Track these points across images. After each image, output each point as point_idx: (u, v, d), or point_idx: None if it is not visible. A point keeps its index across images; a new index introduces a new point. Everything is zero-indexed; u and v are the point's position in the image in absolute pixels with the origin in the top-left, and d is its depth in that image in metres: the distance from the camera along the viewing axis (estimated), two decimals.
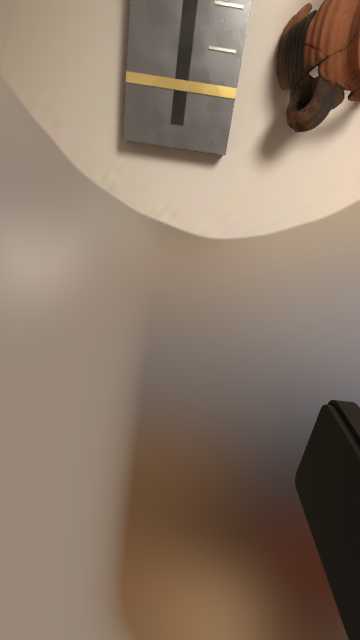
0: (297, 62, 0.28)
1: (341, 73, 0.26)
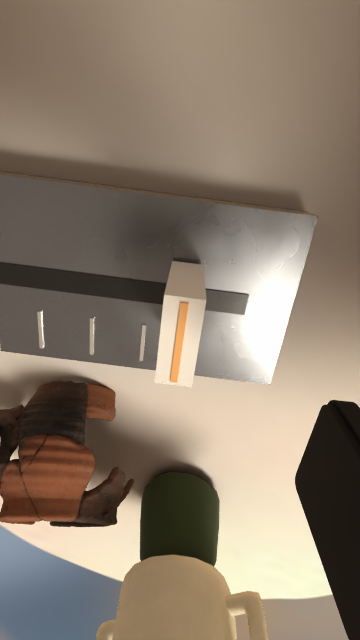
0: (36, 423, 0.20)
1: (8, 490, 0.20)
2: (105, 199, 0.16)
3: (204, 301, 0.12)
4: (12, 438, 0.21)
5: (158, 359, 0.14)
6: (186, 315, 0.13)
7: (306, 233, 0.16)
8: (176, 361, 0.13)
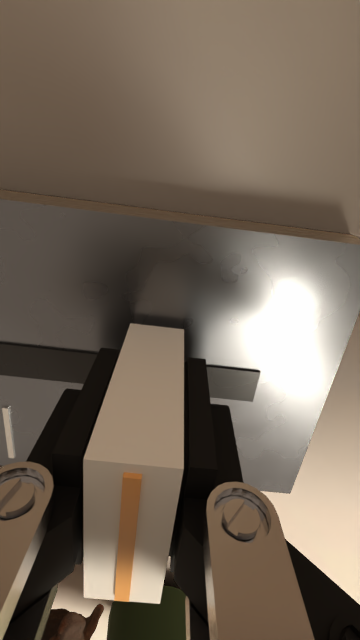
0: None
1: None
2: (4, 218, 0.09)
3: (179, 470, 0.05)
4: None
5: (86, 565, 0.06)
6: (138, 495, 0.06)
7: None
8: (123, 571, 0.06)
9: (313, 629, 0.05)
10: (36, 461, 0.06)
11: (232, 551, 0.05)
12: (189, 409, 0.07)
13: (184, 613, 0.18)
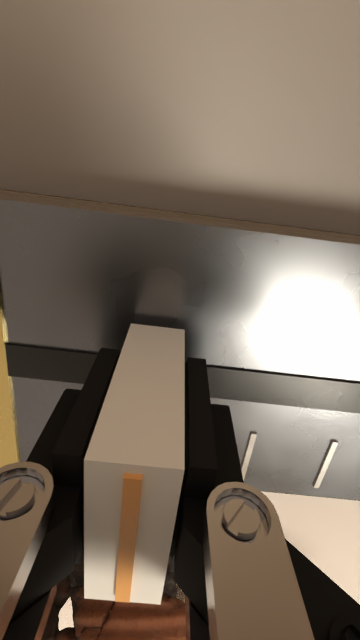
0: None
1: None
2: (218, 245, 0.09)
3: (180, 471, 0.05)
4: (58, 584, 0.13)
5: (87, 566, 0.06)
6: (140, 496, 0.06)
7: None
8: (123, 572, 0.06)
9: (313, 629, 0.05)
10: (36, 461, 0.06)
11: (232, 551, 0.05)
12: (189, 409, 0.07)
13: None
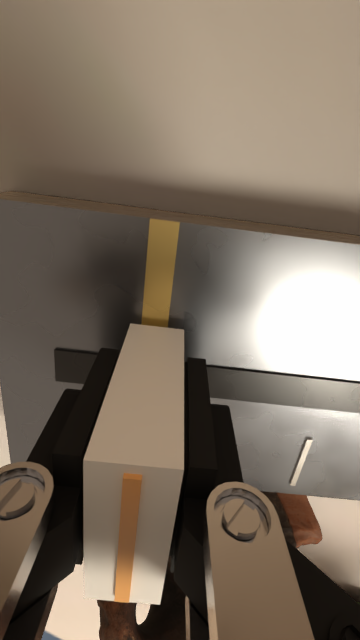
0: None
1: None
2: None
3: (179, 471, 0.05)
4: None
5: (86, 566, 0.06)
6: (138, 496, 0.06)
7: None
8: (123, 572, 0.06)
9: (313, 629, 0.05)
10: (36, 461, 0.06)
11: (232, 551, 0.05)
12: (189, 409, 0.07)
13: None
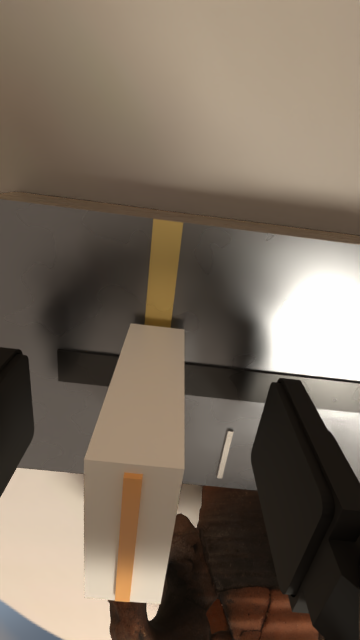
0: (240, 563, 0.13)
1: None
2: None
3: (179, 471, 0.05)
4: (201, 587, 0.13)
5: (86, 566, 0.06)
6: (139, 495, 0.06)
7: None
8: (123, 571, 0.06)
9: None
10: None
11: None
12: (311, 439, 0.07)
13: None
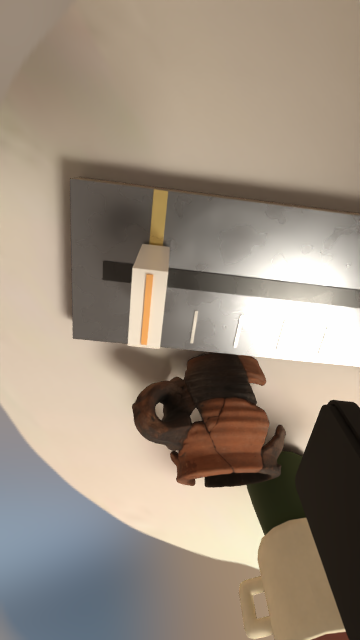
0: (208, 389, 0.23)
1: (193, 449, 0.22)
2: (274, 214, 0.19)
3: (166, 273, 0.15)
4: (186, 404, 0.23)
5: (130, 324, 0.16)
6: (151, 285, 0.15)
7: None
8: (145, 325, 0.16)
9: None
10: None
11: None
12: None
13: None
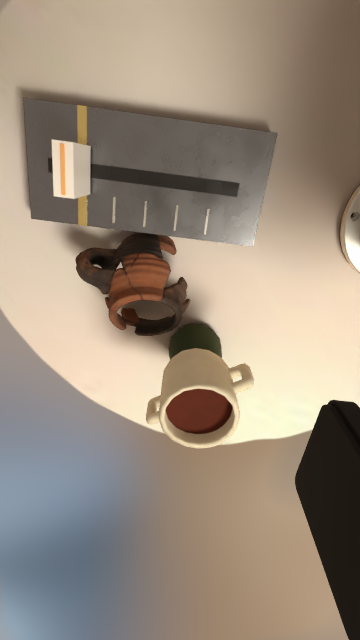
0: (129, 250, 0.32)
1: (116, 287, 0.31)
2: (158, 123, 0.29)
3: (72, 143, 0.25)
4: (114, 260, 0.32)
5: (53, 180, 0.26)
6: (64, 151, 0.25)
7: (271, 143, 0.29)
8: (62, 180, 0.26)
9: None
10: None
11: None
12: None
13: (207, 331, 0.37)
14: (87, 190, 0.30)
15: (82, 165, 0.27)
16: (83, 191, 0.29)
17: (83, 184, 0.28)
